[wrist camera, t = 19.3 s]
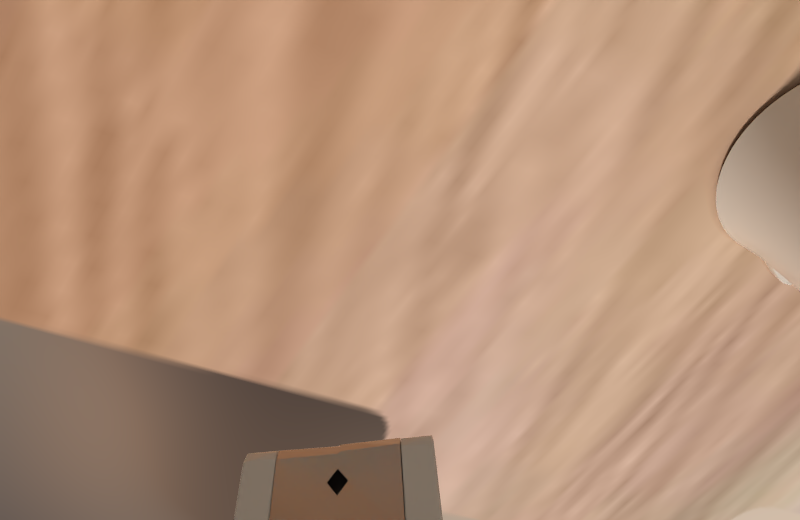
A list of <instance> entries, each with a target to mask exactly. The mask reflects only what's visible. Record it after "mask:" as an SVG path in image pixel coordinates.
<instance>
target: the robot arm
mask: <svg viewBox="0 0 800 520" xmlns="http://www.w3.org/2000/svg"><path fill="white" fill-rule="evenodd" d="M716 208H717V213H718V217H719V220H720V222H721V224H722V226H723V228H724V230H725V231H726V233H727V234H728V235H729V236H730V237H731V238H732V239H733V240H734V241H735V242H737V243H738V244H739V245H741V246H743V247H744V248H746V249H747V250H749V251H751V252H752V253H754V254H755V255H757V256H758V257H759V258H761V259H762V260H763V261H764V262H765V263H766V264H767V266H768V268H769V270H770V271H771V272H772V274H773V275H774V276H776V277H777V278H778V279H779V280H780V281H781V282H783V283H784V284H787V285H793V286H794V287H795V288H796V289H798V290H799V291H800V85H798V86H797V87H795V88H794V89H792V90H790V91H789V92H787V93H786V94H784V95H783V96H781V97H780V98H779V99H777V100H776V101H775V102H773V103H772V104H771V105H770V106H769V107H767V108H766V109H765V110H764V111H763V112H762V113H761V114H760V115H759V116H757V117H756V118H755V119H754V121H753V122H752V123H751V124H750V125H749V126H748V127H747V128H746V130H745V131H744V132H743V133H742V135H741V136H740V137H739V138H738V140H737V141H736V143H735V144H734V146H733V147H732V149H731V151H730V153H729V154H728V156H727V158H726V160H725V163H724V165H723V167H722V170H721V173H720V176H719V180H718V184H717V190H716ZM234 520H442V510H441V502H440V493H439V485H438V476H437V467H436V459H435V450H434V441H433V438H432V435H430V436H421V437H412V438H403V439H400V438H395V439H387V440H378V441H370V442H361V443H353V444H344V445H340V446H336V447H323V448H310V449H298V450H284V451H271V452H261V453H251V454H248V455H247V457H246V459H245V461H244V463H243V469H242V474H241V480H240V486H239V492H238V498H237V504H236V510H235V516H234Z"/></svg>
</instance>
